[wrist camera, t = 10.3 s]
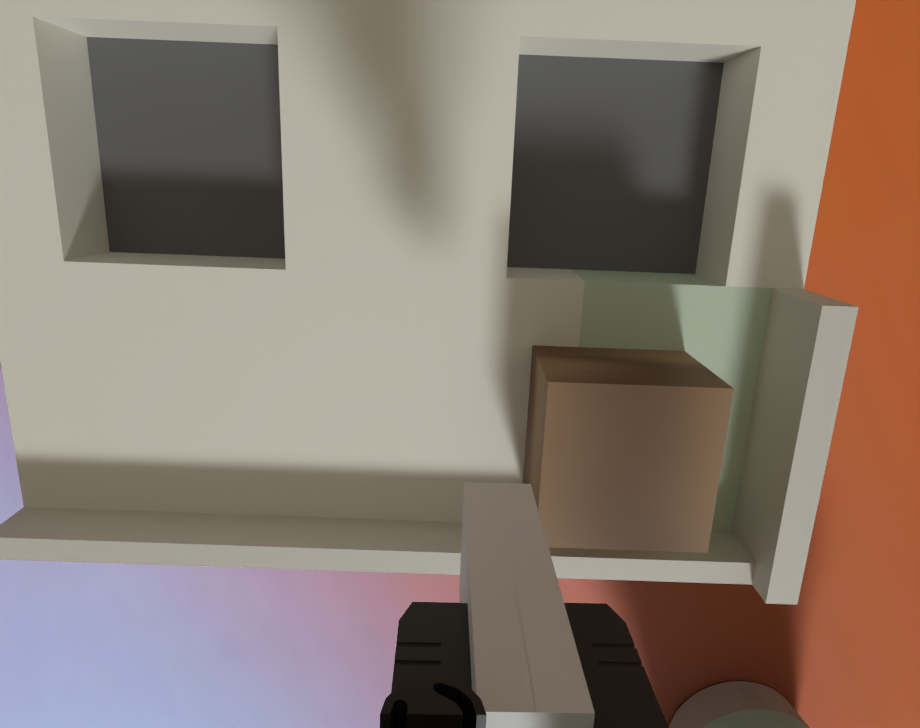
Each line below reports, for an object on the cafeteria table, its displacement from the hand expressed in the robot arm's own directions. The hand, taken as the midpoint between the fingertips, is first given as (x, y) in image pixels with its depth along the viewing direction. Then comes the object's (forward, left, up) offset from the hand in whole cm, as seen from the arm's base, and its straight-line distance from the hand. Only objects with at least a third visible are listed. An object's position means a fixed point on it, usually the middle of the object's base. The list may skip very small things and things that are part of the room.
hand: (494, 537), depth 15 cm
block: (+4, 0, -8) cm, 9 cm away
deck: (-3, +4, -11) cm, 12 cm away
